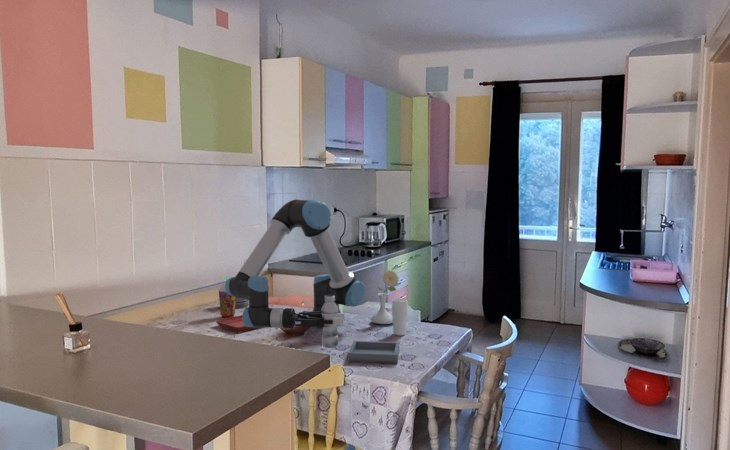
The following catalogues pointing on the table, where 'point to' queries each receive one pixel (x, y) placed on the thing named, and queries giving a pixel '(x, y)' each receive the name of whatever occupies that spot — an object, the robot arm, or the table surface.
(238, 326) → the plant saucer
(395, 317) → the drinking glass
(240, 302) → the can
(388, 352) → the tray
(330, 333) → the silver metal bottle
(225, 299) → the smoothie
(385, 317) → the flower in vase
